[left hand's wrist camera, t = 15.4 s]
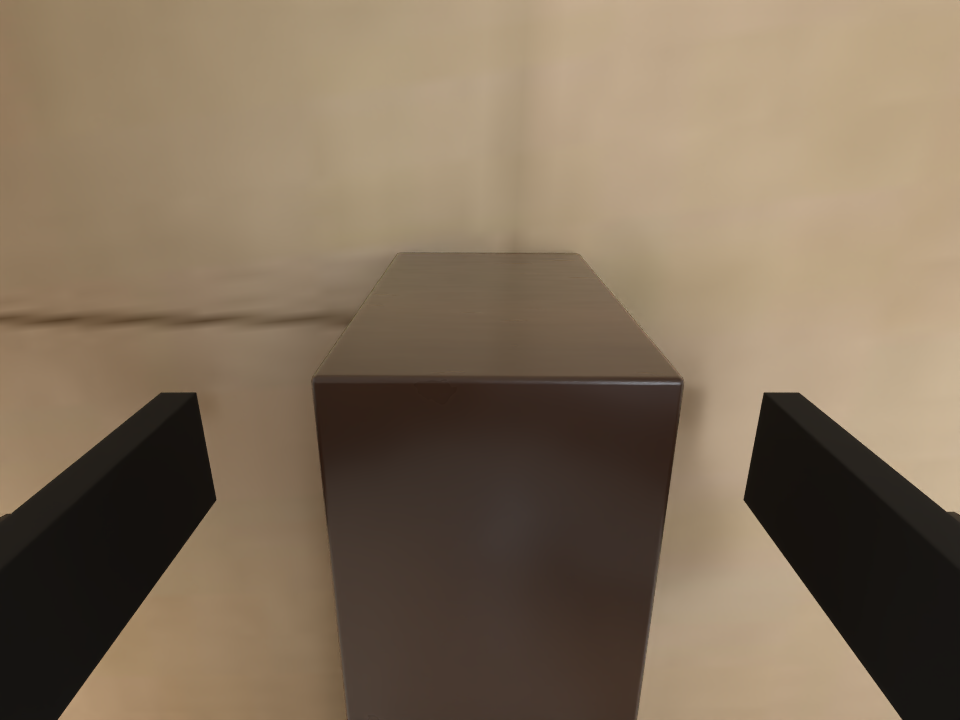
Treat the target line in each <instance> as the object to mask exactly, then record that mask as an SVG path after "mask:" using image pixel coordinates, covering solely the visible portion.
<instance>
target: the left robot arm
mask: <svg viewBox="0 0 960 720" xmlns="http://www.w3.org/2000/svg"><path fill="white" fill-rule="evenodd" d="M215 501H216V495H215V490H214V484H213V479H212V474H211V469H210V463H209V458H208V453H207V447H206V442H205V437H204V431H203V426H202V421H201V415H200V410H199V405H198V400H197V394H196V393H160V394H159V395H158V396H156V397H155V398H154V399H153V400H151V401H150V402H149V403H148V404H146V405H145V406H144V407H143V408H141V409H140V410H139V411H138V412H136V413H135V414H134V415H133V416H132V417H130V418H129V419H128V420H127V421H125V422H124V423H123V424H122V425H120V426H119V427H118V428H117V429H115V430H114V431H113V432H112V433H110V434H109V435H108V436H107V437H106V438H104V439H103V440H102V441H101V442H99V443H98V444H97V445H96V446H94V447H93V448H92V449H91V450H89V451H88V452H87V453H86V454H84V455H83V456H82V457H81V458H80V459H78V460H77V461H76V462H75V463H73V464H72V465H71V466H70V467H68V468H67V469H66V470H65V471H63V472H62V473H61V474H60V475H58V476H57V477H56V478H55V479H53V480H52V481H51V482H50V483H49V484H47V485H46V486H45V487H44V488H42V489H41V490H40V491H39V492H37V493H36V494H35V495H34V496H32V497H31V498H30V499H29V500H27V501H26V502H25V503H24V504H23V505H21V506H20V507H19V508H18V509H16V510H15V511H14V512H13V513H11V514H6V515H4V516H2V517H0V720H58V718H59V717H60V716H61V714H62V713H63V712H64V710H65V709H66V707H67V706H68V705H69V703H70V702H71V700H72V699H73V698H74V696H75V695H76V694H77V692H78V691H79V689H80V688H81V687H82V685H83V684H84V682H85V681H86V680H87V678H88V677H89V676H90V674H91V673H92V671H93V670H94V669H95V667H96V666H97V664H98V663H99V662H100V660H101V659H102V658H103V656H104V655H105V653H106V652H107V651H108V649H109V648H110V646H111V645H112V644H113V642H114V641H115V640H116V638H117V637H118V635H119V634H120V633H121V631H122V630H123V629H124V627H125V626H126V624H127V623H128V622H129V620H130V619H131V617H132V616H133V615H134V613H135V612H136V611H137V609H138V608H139V606H140V605H141V604H142V602H143V601H144V599H145V598H146V597H147V595H148V594H149V593H150V591H151V590H152V588H153V587H154V586H155V584H156V583H157V581H158V580H159V579H160V577H161V576H162V575H163V573H164V572H165V570H166V569H167V568H168V566H169V565H170V563H171V562H172V561H173V559H174V558H175V557H176V555H177V554H178V552H179V551H180V550H181V548H182V547H183V545H184V544H185V543H186V541H187V540H188V539H189V537H190V536H191V534H192V533H193V532H194V530H195V529H196V527H197V526H198V525H199V523H200V522H201V521H202V519H203V518H204V516H205V515H206V514H207V512H208V511H209V509H210V508H211V507H212V505H213V504H214V503H215ZM744 501H745V503H746V504H747V505H748V507H749V508H750V509H751V511H752V512H753V514H754V515H755V516H756V518H757V519H758V521H759V522H760V523H761V525H762V526H763V527H764V529H765V530H766V532H767V533H768V534H769V536H770V537H771V539H772V540H773V541H774V543H775V544H776V545H777V547H778V548H779V550H780V551H781V552H782V554H783V555H784V557H785V558H786V559H787V561H788V562H789V563H790V565H791V566H792V568H793V569H794V570H795V572H796V573H797V575H798V576H799V577H800V579H801V580H802V581H803V583H804V584H805V586H806V587H807V588H808V590H809V591H810V593H811V594H812V595H813V597H814V598H815V599H816V601H817V602H818V604H819V605H820V606H821V608H822V609H823V611H824V612H825V613H826V615H827V616H828V617H829V619H830V620H831V622H832V623H833V624H834V626H835V627H836V629H837V630H838V631H839V633H840V634H841V635H842V637H843V638H844V640H845V641H846V642H847V644H848V645H849V647H850V648H851V649H852V651H853V652H854V653H855V655H856V656H857V658H858V659H859V660H860V662H861V663H862V665H863V666H864V667H865V669H866V670H867V671H868V673H869V674H870V676H871V677H872V678H873V680H874V681H875V683H876V684H877V685H878V687H879V688H880V689H881V691H882V692H883V694H884V695H885V696H886V698H887V699H888V700H889V702H890V703H891V705H892V706H893V707H894V709H895V710H896V712H897V713H898V714H899V716H900V717H901V718H902V720H960V515H959V514H957V513H955V512H946V511H945V510H944V509H942V508H941V507H940V506H939V505H937V504H936V503H935V502H934V501H932V500H931V499H930V498H929V497H928V496H926V495H925V494H924V493H923V492H921V491H920V490H919V489H918V488H916V487H915V486H914V485H913V484H911V483H910V482H909V481H908V480H906V479H905V478H904V477H903V476H902V475H900V474H899V473H898V472H897V471H895V470H894V469H893V468H892V467H890V466H889V465H888V464H887V463H885V462H884V461H883V460H882V459H880V458H879V457H878V456H877V455H876V454H874V453H873V452H872V451H871V450H869V449H868V448H867V447H866V446H864V445H863V444H862V443H861V442H859V441H858V440H857V439H856V438H854V437H853V436H852V435H851V434H850V433H848V432H847V431H846V430H845V429H843V428H842V427H841V426H840V425H838V424H837V423H836V422H835V421H833V420H832V419H831V418H830V417H828V416H827V415H826V414H825V413H824V412H822V411H821V410H820V409H819V408H817V407H816V406H815V405H814V404H812V403H811V402H810V401H809V400H807V399H806V398H805V397H804V396H802V395H801V394H800V393H764V394H763V400H762V405H761V410H760V415H759V421H758V426H757V431H756V437H755V442H754V447H753V453H752V458H751V463H750V468H749V474H748V479H747V484H746V490H745V495H744Z"/></svg>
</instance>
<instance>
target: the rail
mask: <svg viewBox="0 0 960 720" xmlns="http://www.w3.org/2000/svg"><path fill="white" fill-rule="evenodd" d="M311 383H312V392H313V402H314V411H315V421H316V430H317V440H318V449H319V459H320V468H321V477H322V487H323V496H324V506H325V515H326V525H327V534H328V544H329V553H330V563H331V572H332V582H333V591H334V600H335V610H336V619H337V629H338V638H339V648H340V657H341V667H342V676H343V686H344V695H345V705H346V714H347V720H637V715H638V708H639V701H640V694H641V687H642V680H643V673H644V666H645V658H646V651H647V644H648V637H649V630H650V623H651V616H652V608H653V601H654V594H655V587H656V580H657V573H658V566H659V559H660V551H661V544H662V537H663V530H664V523H665V516H666V509H667V501H668V494H669V487H670V480H671V473H672V466H673V459H674V452H675V444H676V437H677V430H678V423H679V416H680V409H681V402H682V394H683V387H684V380H683V378H682V376H681V375H680V374H679V373H678V372H677V370H676V369H675V368H674V367H673V366H672V365H671V363H670V362H669V361H668V360H667V359H666V357H665V356H664V355H663V354H662V353H661V351H660V350H659V349H658V348H657V347H656V345H655V344H654V343H653V342H652V341H651V339H650V338H649V337H648V336H647V335H646V333H645V332H644V331H643V330H642V329H641V327H640V326H639V325H638V324H637V323H636V322H635V320H634V319H633V318H632V317H631V316H630V314H629V313H628V312H627V311H626V310H625V308H624V307H623V306H622V305H621V304H620V302H619V301H618V300H617V299H616V298H615V296H614V295H613V294H612V293H611V292H610V290H609V289H608V288H607V287H606V286H605V285H604V283H603V282H602V281H601V280H600V279H599V277H598V276H597V275H596V274H595V273H594V271H593V270H592V269H591V268H590V267H589V265H588V264H587V263H586V262H585V261H584V259H583V258H582V257H581V256H580V255H579V254H556V253H398V254H397V255H396V257H395V258H394V260H393V261H392V263H391V264H390V265H389V267H388V268H387V270H386V271H385V273H384V274H383V276H382V277H381V278H380V280H379V281H378V283H377V284H376V286H375V287H374V289H373V290H372V291H371V293H370V294H369V296H368V297H367V299H366V300H365V302H364V303H363V305H362V306H361V307H360V309H359V310H358V312H357V313H356V315H355V316H354V318H353V319H352V320H351V322H350V323H349V325H348V326H347V328H346V329H345V331H344V332H343V333H342V335H341V336H340V338H339V339H338V341H337V342H336V344H335V345H334V346H333V348H332V349H331V351H330V352H329V354H328V355H327V357H326V358H325V360H324V361H323V362H322V364H321V365H320V367H319V368H318V370H317V371H316V373H315V374H314V375H313V377H312V380H311Z"/></svg>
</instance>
